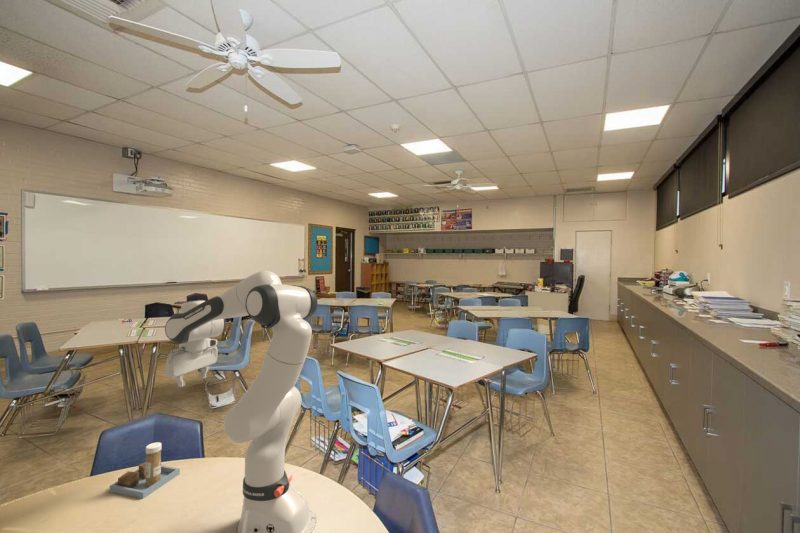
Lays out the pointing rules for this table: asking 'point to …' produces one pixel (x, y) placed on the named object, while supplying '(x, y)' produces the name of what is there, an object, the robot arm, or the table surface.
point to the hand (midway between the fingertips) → (192, 382)
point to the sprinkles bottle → (153, 463)
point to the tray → (140, 488)
